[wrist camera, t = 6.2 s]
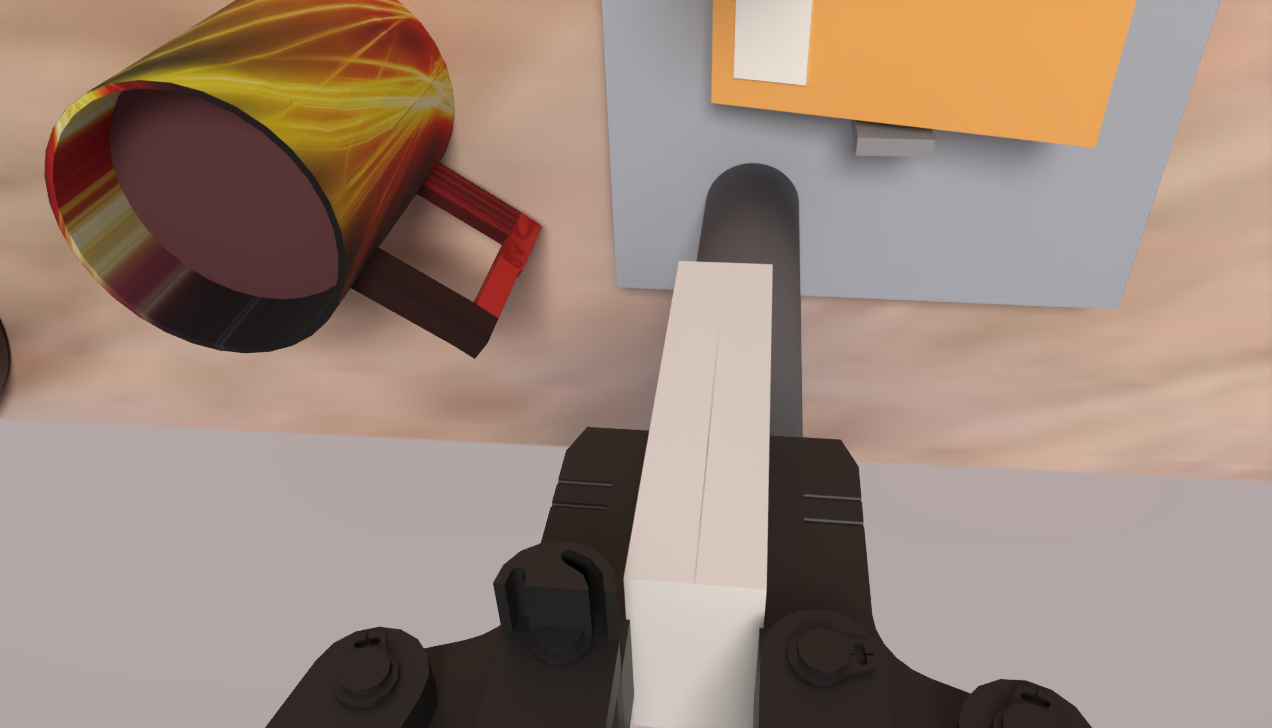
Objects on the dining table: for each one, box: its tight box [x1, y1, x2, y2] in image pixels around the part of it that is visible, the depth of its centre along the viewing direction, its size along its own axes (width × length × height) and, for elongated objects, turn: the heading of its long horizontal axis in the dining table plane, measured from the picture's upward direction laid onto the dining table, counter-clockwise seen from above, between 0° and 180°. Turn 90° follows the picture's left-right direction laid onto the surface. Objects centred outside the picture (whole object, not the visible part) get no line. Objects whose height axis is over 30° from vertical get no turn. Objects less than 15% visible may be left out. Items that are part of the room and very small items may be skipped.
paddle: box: [711, 0, 1136, 148], centre depth 28 cm, size 12×6×2 cm, turn 92°
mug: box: [45, 0, 542, 359], centre depth 34 cm, size 10×14×12 cm
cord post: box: [696, 163, 803, 437], centre depth 31 cm, size 4×4×14 cm
